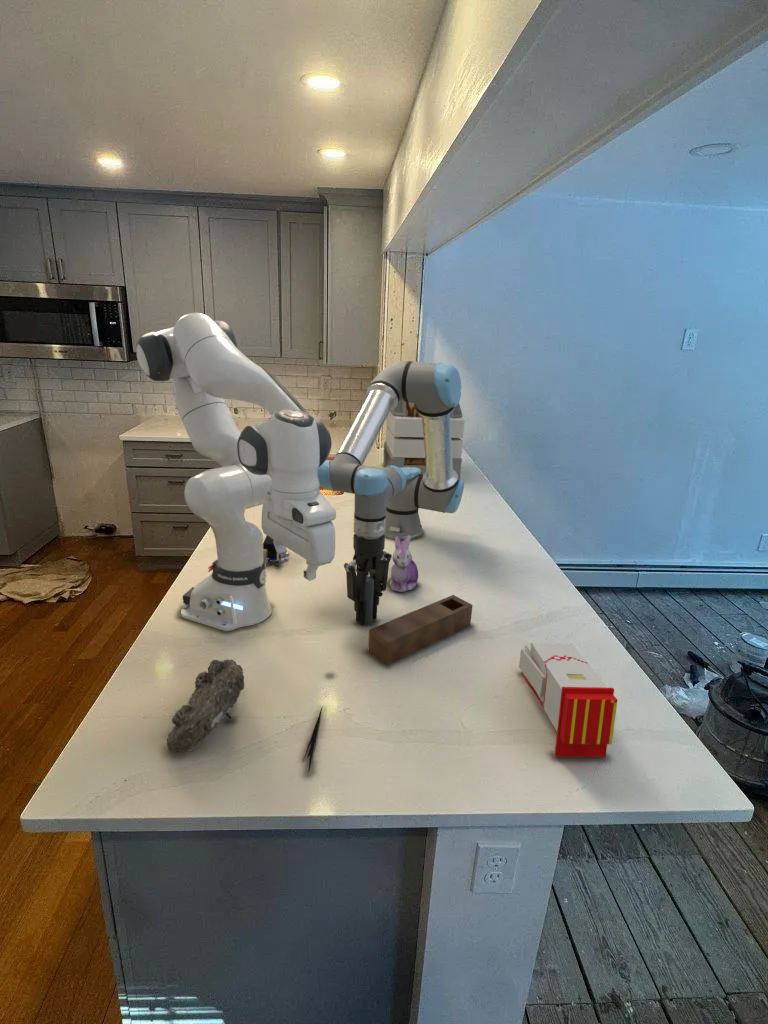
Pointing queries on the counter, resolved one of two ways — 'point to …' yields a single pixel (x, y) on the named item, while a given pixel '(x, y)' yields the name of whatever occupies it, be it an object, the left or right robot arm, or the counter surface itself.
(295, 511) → the left robot arm
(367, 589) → the peg
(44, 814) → the counter surface
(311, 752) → the feather
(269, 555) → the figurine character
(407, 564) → the figurine
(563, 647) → the toy
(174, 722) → the fossil
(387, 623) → the peg board
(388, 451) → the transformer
